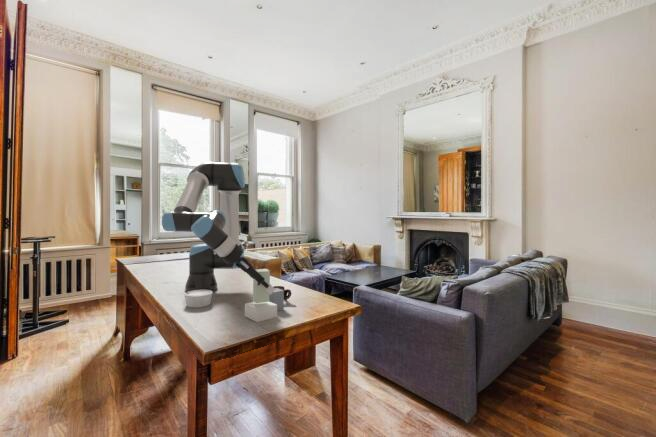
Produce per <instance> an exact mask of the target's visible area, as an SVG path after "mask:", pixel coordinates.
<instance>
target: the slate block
mask: <svg viewBox="0 0 656 437" xmlns="http://www.w3.org/2000/svg"><path fill="white" fill-rule="evenodd" d="M269 301H270V302H272V303H274V304H277V312H278V311H282V310H284V305H285V304H284V302H285V301H284V290H281V289H279V288H275V291H274V292H273V293H272V294H271V295H270V294H269Z"/></svg>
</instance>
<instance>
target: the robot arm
mask: <svg viewBox="0 0 656 437" xmlns="http://www.w3.org/2000/svg"><path fill="white" fill-rule="evenodd" d="M245 179H246V178H245V172H244V168H243V166H242V165H241V164H240V163H235V162H216V161H208V162H207V161H206V162H204V163H200V164H199V165H197V166H196V167H194V168H193V169H192V170H191V171H190V172H189V174H187V178H186V182H187V183H186V185H185V187H184V189H183V191H182V193H181V195H180V198H179V199H178V200H177V203H176V206H175V208H174V209H173V211H171V210H170V211H165V212H163V214H162V217H161V225H162V226H161V227H162V229H163V230H164V231H165V232H174V233H176V232H177V233H179V232H181V233H184V232H185V233H187V232H189V233H191V232H192V233H193V234H194V235H195V236H196V238H198V239H200V241H202V242H203V243H200V244H195V245H192V246H191V247H190V248H189V255H188V256H189V257H188V259H189V264H188V266H189V267H188V268H189V269H188V270H189V272H188V277H187V279H186V280H187V281H186V283H185V288H184V291H185V293H187V292H189V291H193V290H203V289H204V290H211V291H212V292H213V291H216V290H217V289H218V282H217V279H216V276H215V270H222V269H223V270H224V269H225V270H235V269H236V270H237V269H240V270H241V271H243V272H244V273H246V274H247V275H248V276H249V277H250V278H251V279H253V278H254V279H255V280H256V281H257V282H258V284H257V285H258V286H259V285H261V286H262V287H263V288H264V289H265V290H266V291H267V292H268V293H269V294H270V295H271V294H272V293H273V292H274V291H275V288H274V286H273V285H272V284H271V283H270V284H269V283H268V282H267V281H266V280H265V279H264V277H262V276H261V275H260V274H259V273H258V272H257V271H256V270H255V268H254V267H253V266H252V263H250V262H249V261H248V259H246V258H245V257H244V256H245V246H243V245H242V244H243V243H242V241H240V237H239V230H240V229H239V217H240V216H239V215H240V214H239V213H240V212H239V211H240V210H239V209H240V208H239V203H240V202H239V195H240V193H241V192H242V190H243V188H245V186H246V183H245V181H246V180H245ZM208 187H217V189H216V190H217V192H219V194H220V209H213V210H210V211H208V212H197V208H198V207H199V204H200V200H201V199H202V196H203V194H204V192H205V190H206V189H208Z"/></svg>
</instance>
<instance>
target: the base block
mask: <svg viewBox="0 0 656 437" xmlns="http://www.w3.org/2000/svg"><path fill="white" fill-rule="evenodd" d="M244 316H245V317H246V318H248V319H250V320H252V321H253V322H256V323H260V322H262V321H267V320H270V319H273V318H277V317H278V311H277V304H274V303H272V302H270V301H269V302H262V303H256V302H255V301H253V302H252V301H251V302H247V303H245V304H244Z"/></svg>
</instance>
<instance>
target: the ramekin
mask: <svg viewBox="0 0 656 437" xmlns="http://www.w3.org/2000/svg"><path fill="white" fill-rule="evenodd" d="M213 294H214V293H213V291H211V290H204V289H203V290H193V291H189V292H185V293H184V298H185V303H186V304H185V305H186V306H187V307H188V308H192V309H195V308H203V307H207V306H209V305H210V304H211V303H212V298H213V297H212V296H213Z"/></svg>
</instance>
